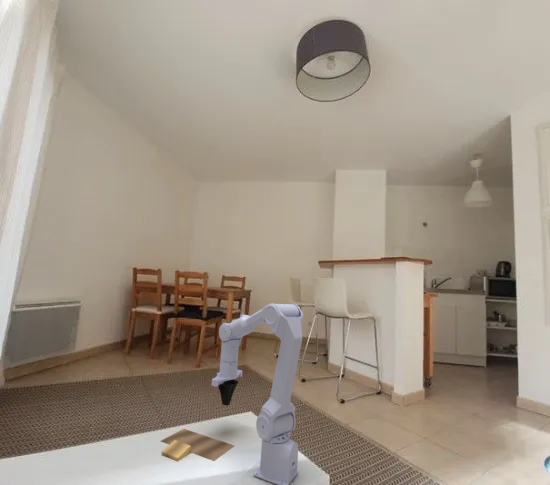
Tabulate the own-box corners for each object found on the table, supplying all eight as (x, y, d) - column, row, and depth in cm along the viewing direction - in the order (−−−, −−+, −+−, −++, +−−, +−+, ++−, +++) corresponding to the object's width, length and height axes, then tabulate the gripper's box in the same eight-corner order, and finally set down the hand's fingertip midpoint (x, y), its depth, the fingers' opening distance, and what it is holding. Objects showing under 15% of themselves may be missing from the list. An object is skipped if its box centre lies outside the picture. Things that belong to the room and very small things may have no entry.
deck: (234, 451, 92) (234, 445, 92) (213, 467, 83) (214, 461, 84) (183, 433, 101) (183, 428, 101) (159, 446, 92) (160, 441, 93)
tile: (191, 452, 87) (190, 445, 87) (178, 465, 83) (177, 458, 83) (175, 446, 90) (174, 439, 90) (162, 458, 85) (161, 451, 85)
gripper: (231, 355, 111) (228, 395, 109) (205, 362, 98) (201, 408, 96) (248, 358, 107) (245, 400, 105) (223, 366, 95) (220, 413, 93)
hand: (225, 404), depth 100 cm, fingers closed
